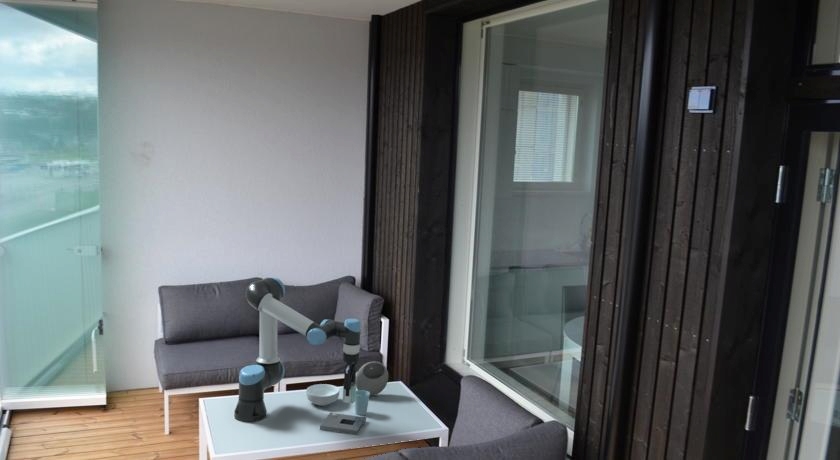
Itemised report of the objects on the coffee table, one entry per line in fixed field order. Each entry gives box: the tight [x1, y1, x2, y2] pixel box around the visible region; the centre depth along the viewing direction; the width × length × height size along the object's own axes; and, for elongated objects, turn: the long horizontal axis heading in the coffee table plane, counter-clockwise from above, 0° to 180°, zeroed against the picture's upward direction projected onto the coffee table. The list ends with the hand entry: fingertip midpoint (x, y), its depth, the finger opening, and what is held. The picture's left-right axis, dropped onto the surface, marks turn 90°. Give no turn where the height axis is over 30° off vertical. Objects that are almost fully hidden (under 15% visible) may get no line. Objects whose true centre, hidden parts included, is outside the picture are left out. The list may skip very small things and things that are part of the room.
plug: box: [342, 382, 357, 405], centre depth 329 cm, size 5×4×9 cm
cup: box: [354, 390, 371, 416], centre depth 347 cm, size 8×8×10 cm
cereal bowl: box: [305, 383, 340, 407], centre depth 357 cm, size 17×17×7 cm
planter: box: [355, 361, 389, 397], centre depth 370 cm, size 18×7×19 cm, turn 115°
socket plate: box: [319, 412, 367, 436], centre depth 332 cm, size 18×16×3 cm
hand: (348, 400), depth 330 cm, fingers closed on plug, 4 cm apart
